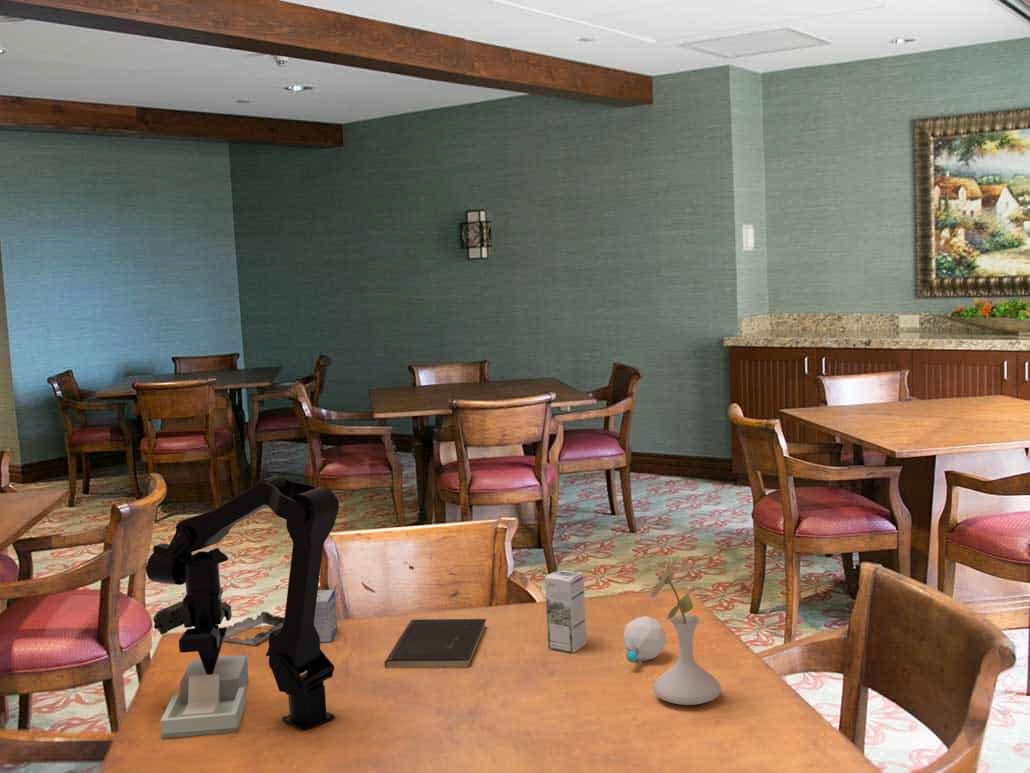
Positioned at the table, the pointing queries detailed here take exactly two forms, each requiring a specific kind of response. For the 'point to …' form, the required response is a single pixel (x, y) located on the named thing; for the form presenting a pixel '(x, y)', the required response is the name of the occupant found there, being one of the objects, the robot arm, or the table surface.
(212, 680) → the rear tile
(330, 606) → the medicine box
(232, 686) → the grey rounded box
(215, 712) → the front tile
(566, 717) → the table surface
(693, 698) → the flower in vase
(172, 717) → the box
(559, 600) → the syrup box
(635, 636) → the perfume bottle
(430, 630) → the hardcover book
